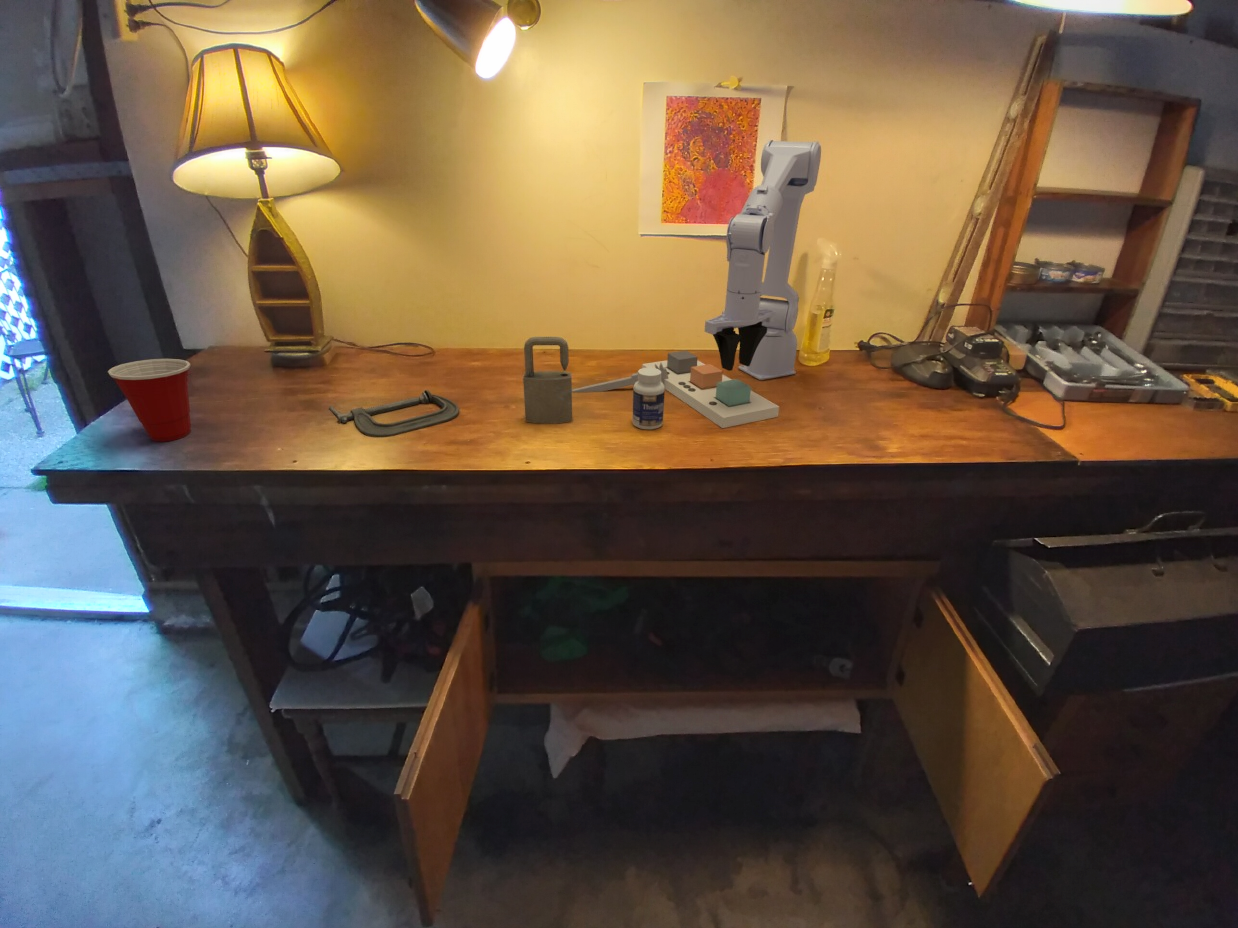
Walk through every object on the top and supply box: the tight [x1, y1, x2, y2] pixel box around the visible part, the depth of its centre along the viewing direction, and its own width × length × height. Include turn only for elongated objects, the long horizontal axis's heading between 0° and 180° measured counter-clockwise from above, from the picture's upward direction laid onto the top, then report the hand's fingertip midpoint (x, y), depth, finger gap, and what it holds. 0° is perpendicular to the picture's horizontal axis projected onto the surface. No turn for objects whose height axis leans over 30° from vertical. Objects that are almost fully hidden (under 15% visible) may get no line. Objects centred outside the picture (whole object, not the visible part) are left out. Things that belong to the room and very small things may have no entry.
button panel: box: [641, 359, 780, 429], centre depth 128 cm, size 12×30×2 cm, turn 26°
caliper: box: [572, 363, 668, 393], centre depth 129 cm, size 20×1×6 cm, turn 99°
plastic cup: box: [107, 358, 192, 443], centre depth 106 cm, size 11×11×12 cm
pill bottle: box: [632, 367, 666, 430], centre depth 113 cm, size 5×5×10 cm
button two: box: [667, 350, 699, 375], centre depth 134 cm, size 4×4×3 cm
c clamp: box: [328, 389, 460, 438], centre depth 117 cm, size 20×17×3 cm
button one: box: [716, 378, 752, 407], centre depth 120 cm, size 4×4×3 cm
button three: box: [690, 363, 724, 390], centre depth 127 cm, size 4×4×3 cm
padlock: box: [522, 336, 573, 424], centre depth 113 cm, size 4×8×15 cm, turn 93°
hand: (735, 366), depth 117 cm, fingers open, 4 cm apart
